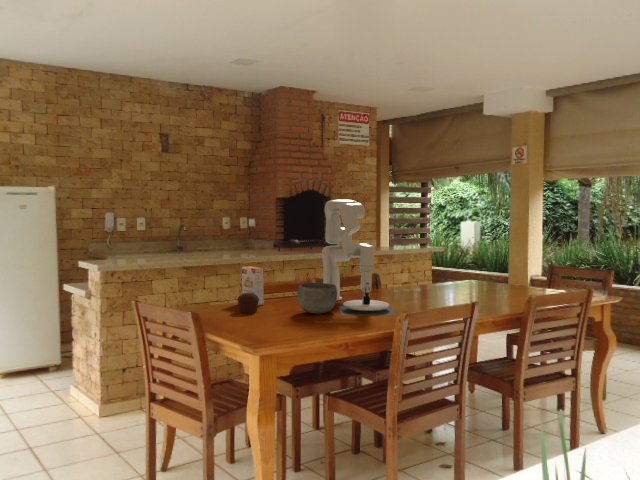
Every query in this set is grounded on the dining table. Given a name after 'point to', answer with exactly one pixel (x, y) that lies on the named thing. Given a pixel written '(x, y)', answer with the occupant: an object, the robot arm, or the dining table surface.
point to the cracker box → (253, 282)
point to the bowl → (317, 297)
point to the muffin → (248, 303)
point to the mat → (366, 312)
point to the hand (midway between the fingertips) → (366, 302)
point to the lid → (366, 305)
